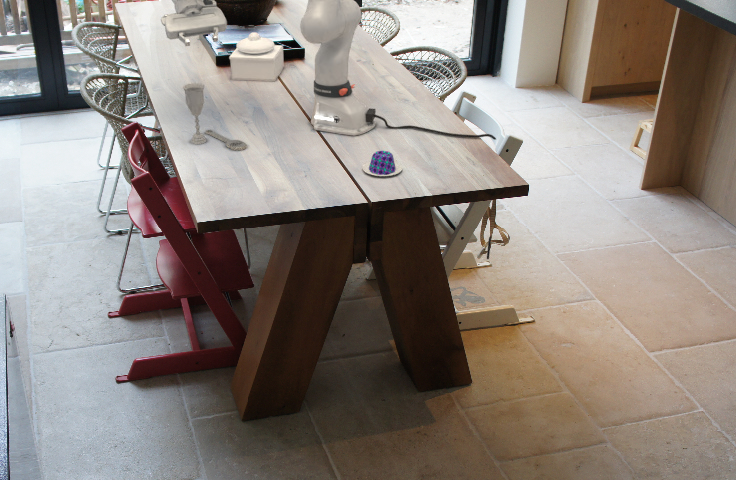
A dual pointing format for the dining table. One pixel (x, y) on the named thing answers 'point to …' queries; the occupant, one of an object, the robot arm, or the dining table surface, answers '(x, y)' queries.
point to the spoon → (228, 141)
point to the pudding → (382, 164)
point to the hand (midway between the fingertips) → (202, 42)
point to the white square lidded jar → (256, 59)
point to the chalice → (195, 107)
